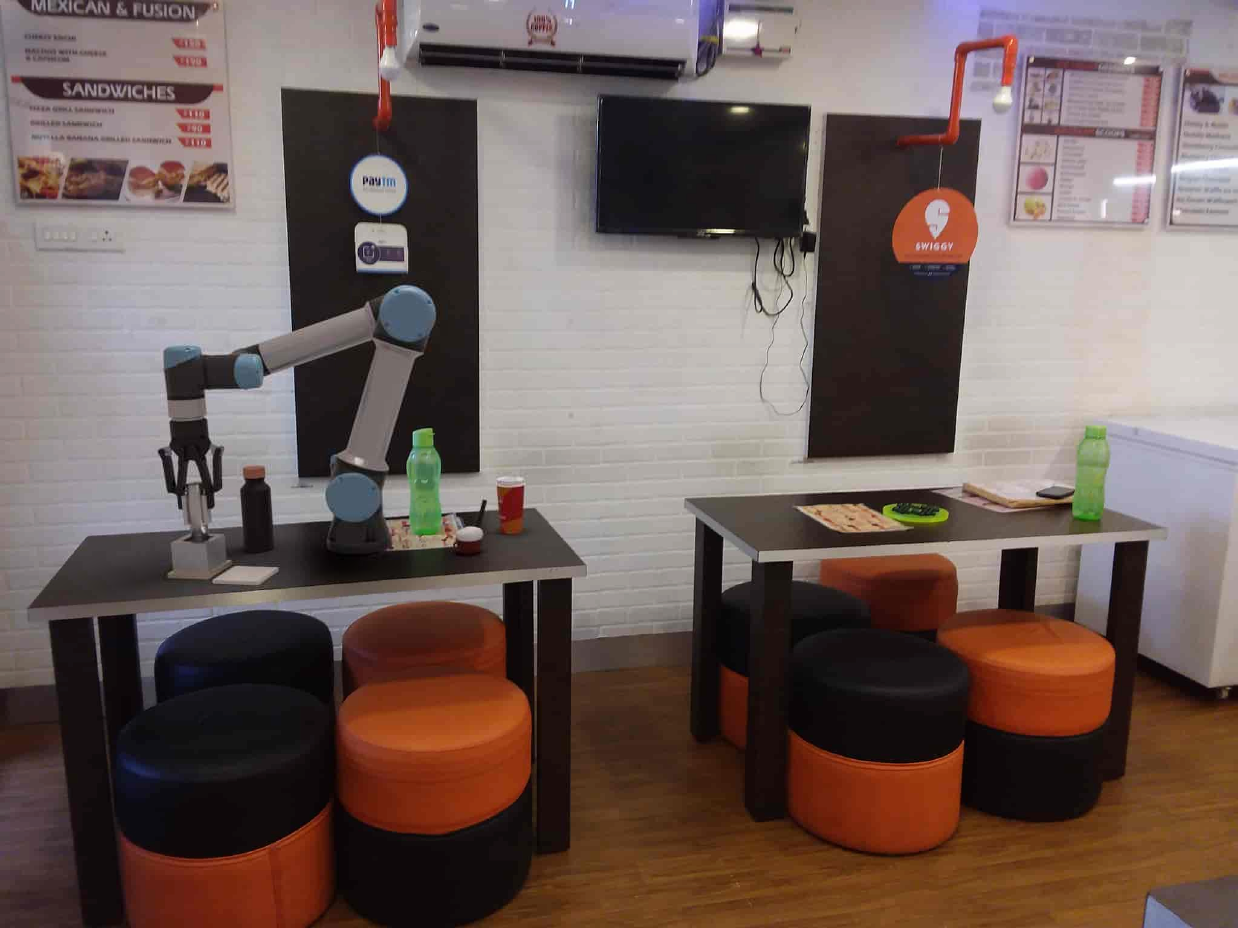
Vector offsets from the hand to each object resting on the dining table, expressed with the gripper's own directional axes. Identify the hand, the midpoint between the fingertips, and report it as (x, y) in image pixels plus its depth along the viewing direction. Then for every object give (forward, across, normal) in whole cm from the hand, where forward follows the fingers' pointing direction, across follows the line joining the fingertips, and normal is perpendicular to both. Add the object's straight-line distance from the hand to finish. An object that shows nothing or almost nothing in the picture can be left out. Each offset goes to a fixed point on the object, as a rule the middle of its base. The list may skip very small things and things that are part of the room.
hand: (198, 523), depth 208 cm
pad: (+11, -11, +5) cm, 16 cm away
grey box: (+11, 0, -2) cm, 11 cm away
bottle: (+11, -8, -17) cm, 22 cm away
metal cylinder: (+4, 0, 0) cm, 4 cm away
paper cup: (+12, -68, -29) cm, 74 cm away
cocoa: (+12, -58, -11) cm, 61 cm away
